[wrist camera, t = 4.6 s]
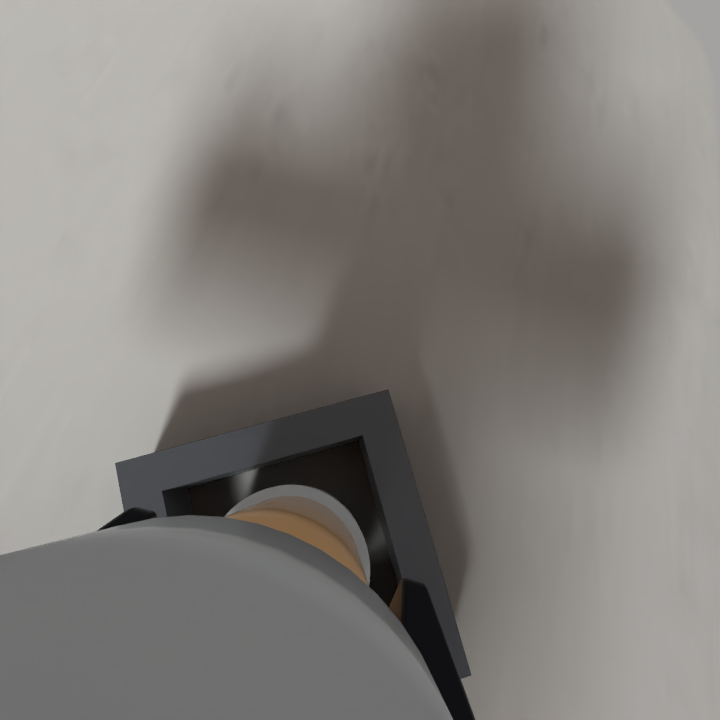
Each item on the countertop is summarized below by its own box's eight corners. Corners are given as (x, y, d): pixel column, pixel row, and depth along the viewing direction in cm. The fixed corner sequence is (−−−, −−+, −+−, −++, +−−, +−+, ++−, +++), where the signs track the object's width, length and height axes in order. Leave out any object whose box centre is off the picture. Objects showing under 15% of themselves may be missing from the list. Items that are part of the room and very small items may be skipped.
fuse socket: (449, 642, 18) (471, 675, 15) (199, 723, 17) (172, 775, 14) (379, 401, 20) (388, 389, 17) (148, 464, 19) (115, 463, 16)
